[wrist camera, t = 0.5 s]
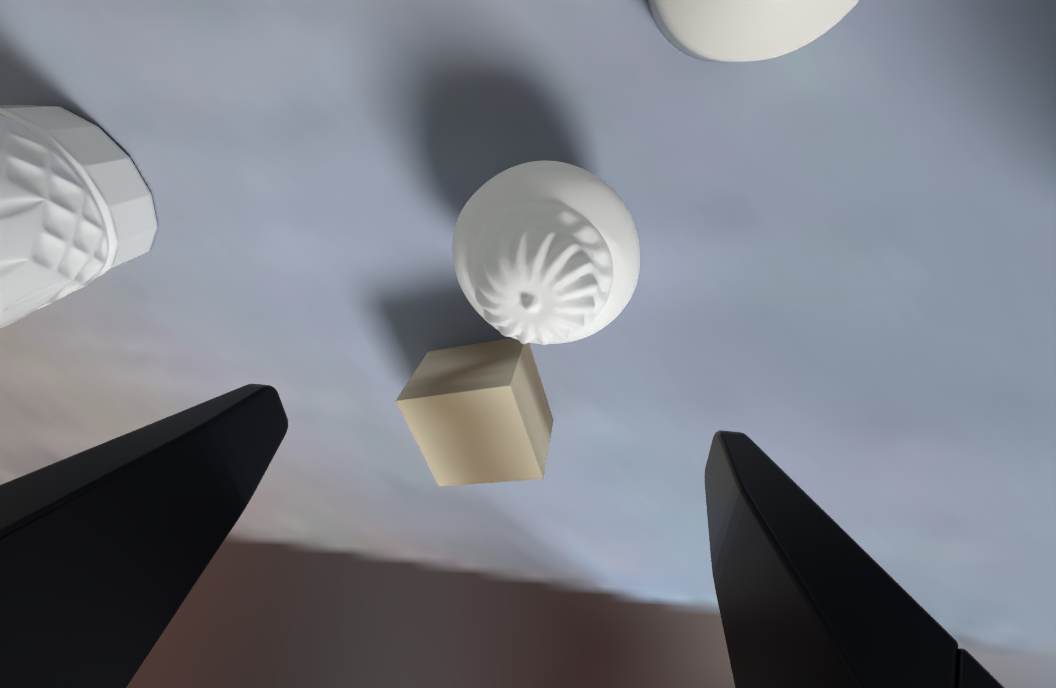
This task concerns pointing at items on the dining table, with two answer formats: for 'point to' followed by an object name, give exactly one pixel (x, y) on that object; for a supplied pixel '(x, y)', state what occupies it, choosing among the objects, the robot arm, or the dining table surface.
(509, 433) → the maple block
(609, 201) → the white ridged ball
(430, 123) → the dining table surface
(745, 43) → the white rounded lump
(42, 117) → the white cup
